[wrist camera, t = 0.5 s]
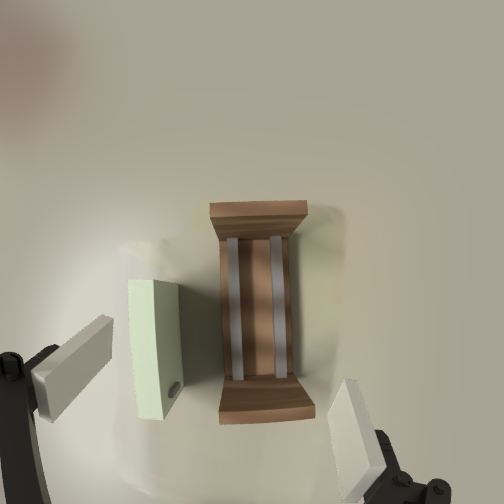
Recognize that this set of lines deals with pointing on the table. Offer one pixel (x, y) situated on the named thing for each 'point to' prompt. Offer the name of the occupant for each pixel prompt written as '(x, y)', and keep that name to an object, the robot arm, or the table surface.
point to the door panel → (155, 346)
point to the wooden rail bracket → (258, 312)
